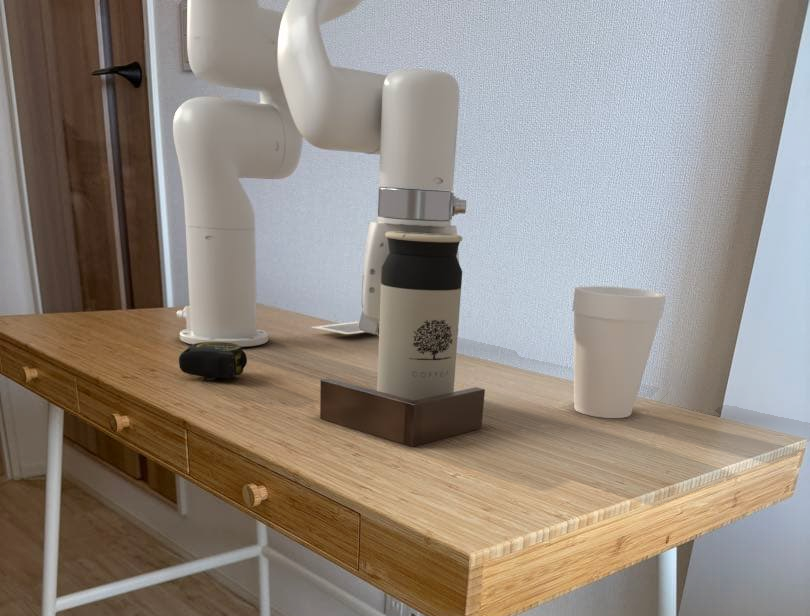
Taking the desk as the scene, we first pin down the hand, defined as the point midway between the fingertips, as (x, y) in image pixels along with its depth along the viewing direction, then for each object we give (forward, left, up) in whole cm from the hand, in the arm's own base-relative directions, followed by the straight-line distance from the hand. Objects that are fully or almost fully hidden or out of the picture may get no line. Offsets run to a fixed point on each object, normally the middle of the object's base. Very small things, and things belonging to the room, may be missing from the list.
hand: (405, 387), depth 92 cm
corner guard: (+6, -7, -2) cm, 9 cm away
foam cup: (+18, +14, -2) cm, 22 cm away
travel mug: (+4, -4, -2) cm, 6 cm away
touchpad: (-32, +33, -2) cm, 46 cm away
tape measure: (-22, -7, -2) cm, 24 cm away
